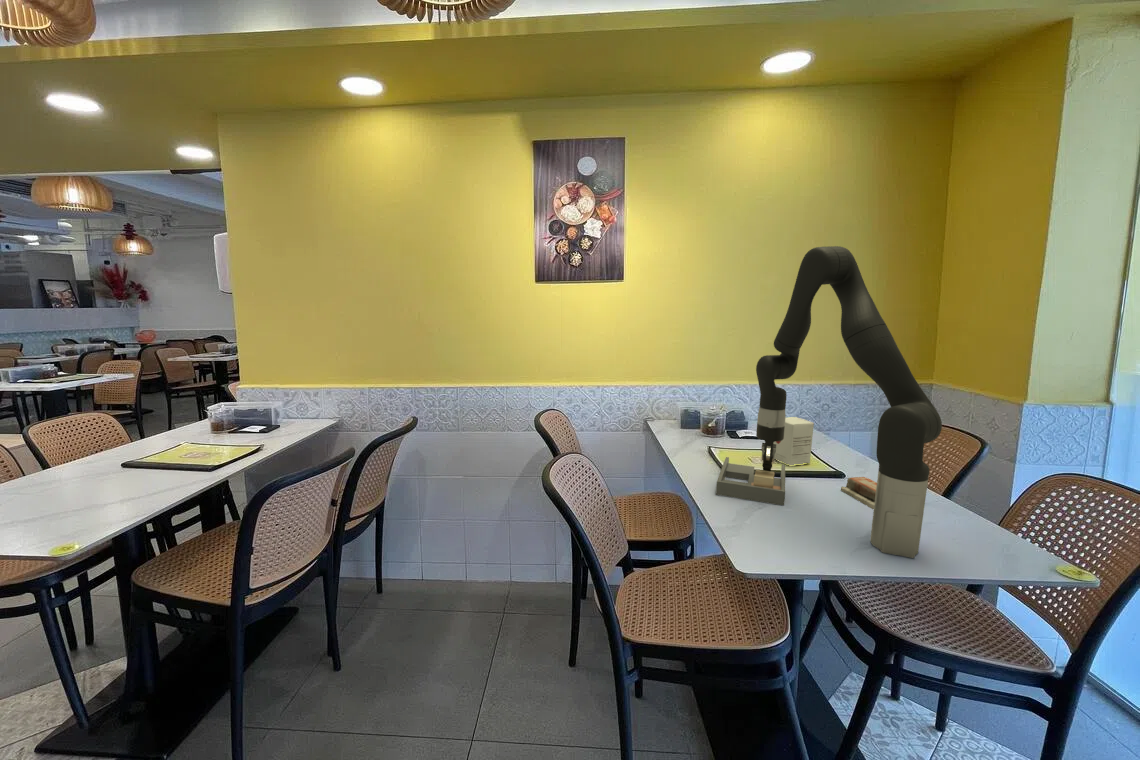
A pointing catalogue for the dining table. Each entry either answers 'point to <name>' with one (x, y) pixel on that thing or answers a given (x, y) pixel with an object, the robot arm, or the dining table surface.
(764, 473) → the block
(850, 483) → the packaged product
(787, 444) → the supplement box
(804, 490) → the dining table surface
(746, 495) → the box
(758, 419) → the robot arm
